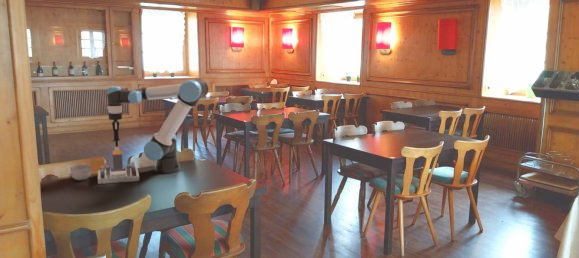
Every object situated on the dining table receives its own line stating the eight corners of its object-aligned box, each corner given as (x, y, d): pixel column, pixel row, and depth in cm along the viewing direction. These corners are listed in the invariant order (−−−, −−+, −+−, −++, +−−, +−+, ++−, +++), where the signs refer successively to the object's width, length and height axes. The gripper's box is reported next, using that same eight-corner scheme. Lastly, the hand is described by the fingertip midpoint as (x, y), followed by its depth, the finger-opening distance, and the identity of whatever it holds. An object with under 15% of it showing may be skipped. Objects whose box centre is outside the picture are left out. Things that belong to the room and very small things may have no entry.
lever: (125, 170, 274) (124, 150, 275) (125, 170, 272) (124, 150, 274) (110, 171, 271) (109, 151, 272) (110, 171, 269) (109, 151, 271)
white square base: (134, 167, 284) (134, 161, 283) (136, 176, 267) (136, 170, 266) (100, 170, 277) (100, 164, 277) (100, 178, 260) (100, 172, 259)
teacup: (86, 182, 264) (85, 168, 262) (67, 181, 264) (66, 167, 262) (96, 175, 277) (96, 162, 276) (78, 174, 278) (77, 161, 276)
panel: (137, 172, 285) (136, 160, 283) (139, 180, 268) (138, 168, 267) (98, 175, 277) (97, 163, 275) (98, 184, 260) (97, 171, 259)
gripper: (108, 111, 280) (110, 149, 285) (108, 114, 269) (110, 154, 273) (121, 110, 283) (123, 148, 287) (122, 114, 271) (124, 153, 276)
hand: (117, 151), depth 280 cm, fingers closed
